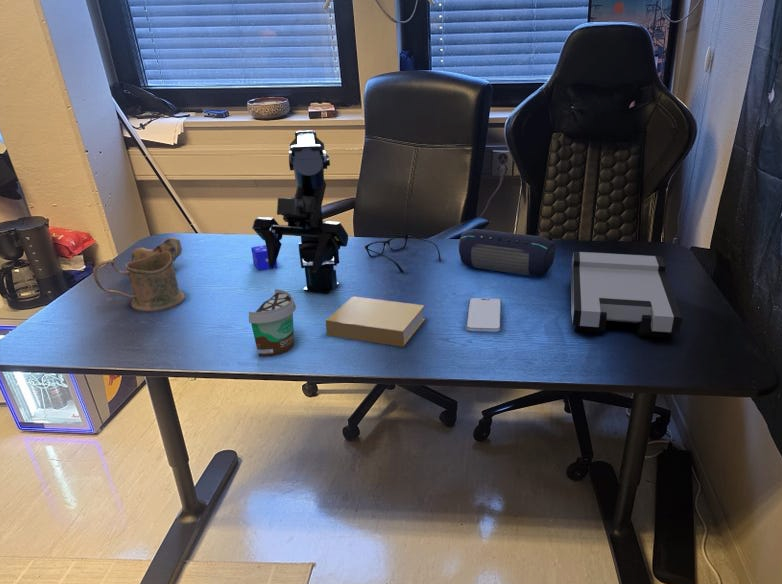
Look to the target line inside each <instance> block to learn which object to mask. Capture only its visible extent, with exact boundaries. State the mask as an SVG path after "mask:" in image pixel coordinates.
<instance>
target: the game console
mask: <svg viewBox="0 0 782 584" xmlns="http://www.w3.org/2000/svg"><path fill="white" fill-rule="evenodd" d="M571 261H572V262H571V282H570V303H571V304H570V315H571V322H572V323H571V324H572V326H573V330H574V332H580V333H581V332H582V333H594V334H595V333H597V334H604V331H606V326H607V322H620V323H633V324H635V327H636V332H637V336H638V337H649V338H650V337H651V338H664V339H668V338H669V336H672V333H674V334H680V331H681V326H682V321H683V315H682V313H681V311H680V308H679V305H678V302H677V299H676V297H675V295H674V293H673V289H672V286H671V284H670V281H669V277H668V276H667V273H666V269H667V268H666V267H667V266H666V263H665V260H664V258H663V256H659V255H643V254H641V255H640V254H626V253H625V254H624V253H606V252H590V251H589V252H587V251H572V260H571Z"/></svg>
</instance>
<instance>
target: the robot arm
mask: <svg viewBox="0 0 782 584" xmlns="http://www.w3.org/2000/svg"><path fill="white" fill-rule="evenodd" d="M288 165H289V166H288V167H289V171H293V172H294V173H293V175H294V180H295V183H296V188H295V193H294V196H293V197H290V198H288V197H278V198H277V204H276V205H277V207H276V215H277V216H282V220H283V222H285V223H287V225H285V224H279V222H277V221H276V219H275V218H274V217H262V216H261V217H260V216H258V217H256V218H255V219H254V220H253V224H252V230H253V231H254V232H255V233H256V234H257V235H258V236H259V237H260V239H261V240H262V241H264V243H265V245H266V247H267V254H268V262H269V267H270V268H271V269H270V270H274V269H275V268H274V266H275V264H276V260H278V258H279V253H280V250H281V248H282V243H281V240H283V236H294V237H297V236H298V237H300V242H298V244H297V245H298V253H299V262H300V268H301V269H304V274H305V275H304V276H305V284H306V286H305V287H304V288H303V291H304V292H309V293H314V294H315V293H316V294H324V295H327V294H330V293H331V291H333V290H334V289H335V288H336V287H338V286H339V285H340V283H339V282H338V279H337V270H336V269H335V267H338V265H339V264H340V252H339V251H340V250H341V247H343V248H344V247H347V246H348V242H349V234H348V232H347V231H346V229H345V228H344V226H343V224H342V223H341V222H340V221H326V220H324V219H323V217H324V216H323V209H322V205H323V200H324V196H325V193H326V188H327V183H326V181H325V170H328V167H329V166H331V161H330V155H328V154H327V152H326V150H325V143H324V142H323V141H322V140H321V139H320V138H318V137H317V131H315V130H298V131H296V132H294V139H293V140H292V141H291V142H290V143H289V151H288Z"/></svg>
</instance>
